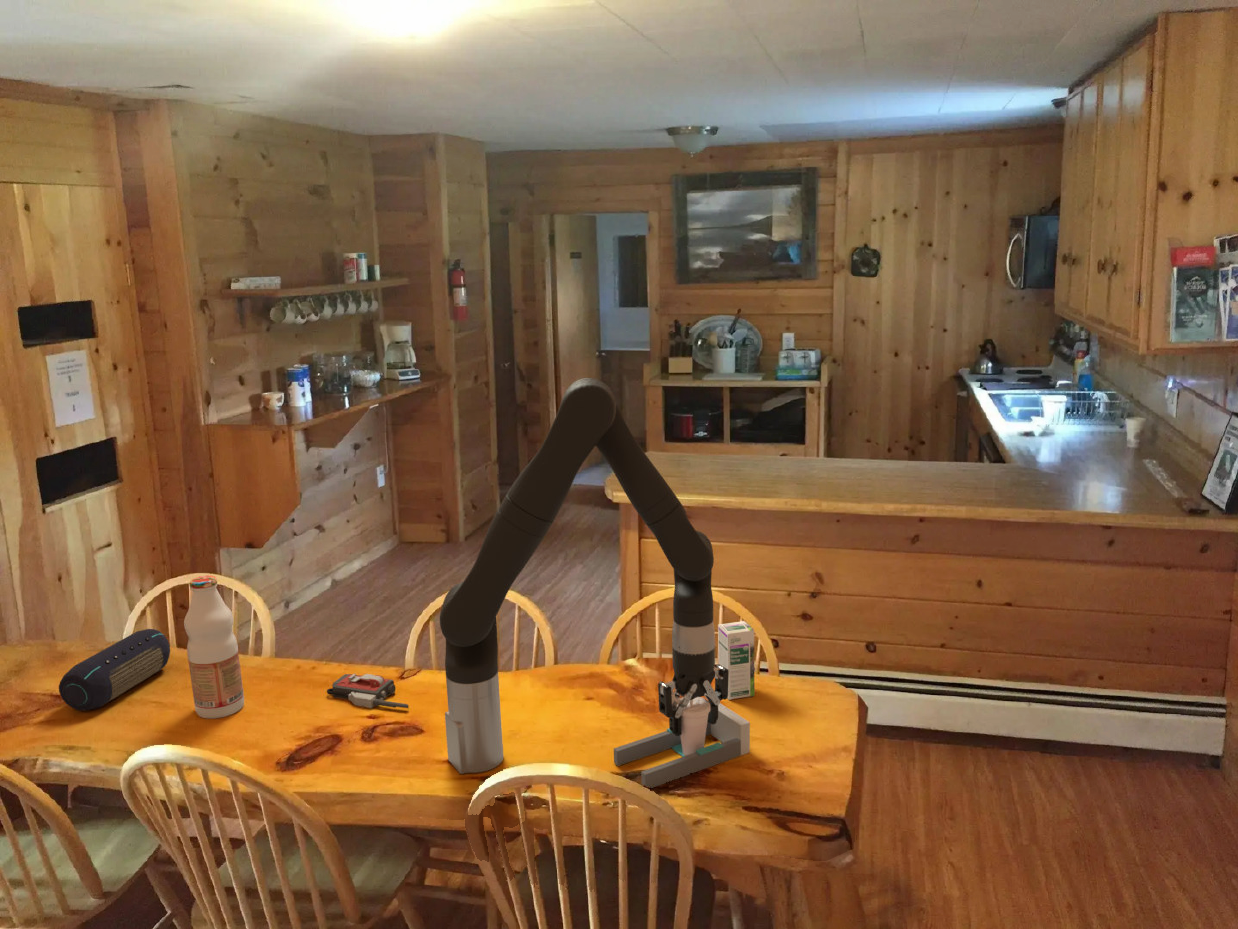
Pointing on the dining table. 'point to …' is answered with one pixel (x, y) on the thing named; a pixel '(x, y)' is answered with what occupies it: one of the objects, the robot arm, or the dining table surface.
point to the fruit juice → (212, 652)
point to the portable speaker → (114, 670)
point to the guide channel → (726, 730)
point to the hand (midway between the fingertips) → (694, 728)
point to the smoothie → (694, 725)
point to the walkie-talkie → (365, 690)
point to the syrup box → (737, 657)
